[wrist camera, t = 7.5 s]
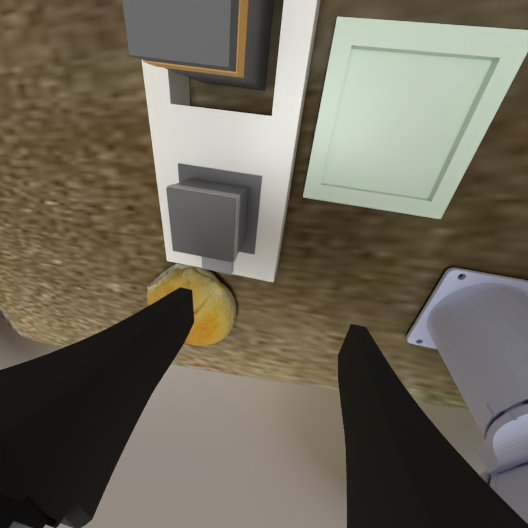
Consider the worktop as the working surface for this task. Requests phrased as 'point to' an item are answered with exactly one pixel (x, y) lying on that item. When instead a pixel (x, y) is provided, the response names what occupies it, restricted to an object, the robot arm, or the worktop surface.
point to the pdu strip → (230, 161)
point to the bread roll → (199, 301)
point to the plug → (203, 38)
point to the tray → (407, 111)
